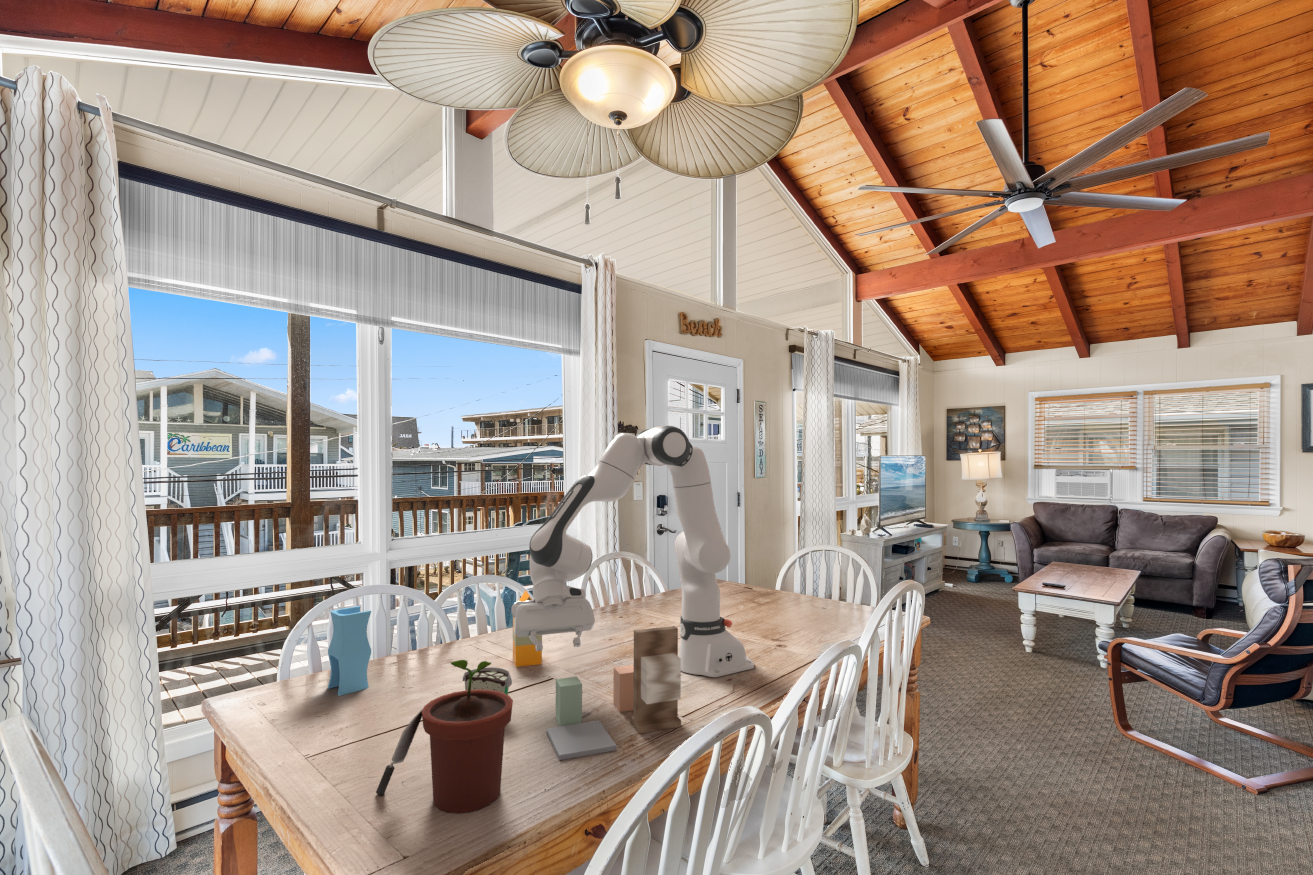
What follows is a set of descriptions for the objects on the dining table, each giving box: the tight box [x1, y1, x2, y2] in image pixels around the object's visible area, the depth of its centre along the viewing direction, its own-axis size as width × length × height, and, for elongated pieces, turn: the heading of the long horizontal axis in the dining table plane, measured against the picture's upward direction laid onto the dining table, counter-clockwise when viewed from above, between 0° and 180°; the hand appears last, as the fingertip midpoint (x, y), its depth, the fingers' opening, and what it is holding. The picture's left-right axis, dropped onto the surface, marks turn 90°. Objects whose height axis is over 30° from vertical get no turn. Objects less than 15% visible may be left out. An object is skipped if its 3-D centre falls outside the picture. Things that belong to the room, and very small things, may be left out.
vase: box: [327, 605, 372, 697], centre depth 163 cm, size 8×8×20 cm
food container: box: [462, 666, 513, 695], centre depth 147 cm, size 12×6×10 cm, turn 71°
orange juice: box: [512, 590, 543, 668], centre depth 185 cm, size 8×9×20 cm
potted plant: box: [375, 659, 514, 814], centre depth 114 cm, size 18×22×25 cm
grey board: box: [546, 719, 617, 761], centre depth 133 cm, size 12×13×1 cm
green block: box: [555, 676, 583, 727], centre depth 144 cm, size 5×5×9 cm
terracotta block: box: [612, 664, 634, 713], centre depth 152 cm, size 5×5×9 cm
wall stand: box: [629, 625, 682, 735], centre depth 141 cm, size 10×8×22 cm
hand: (558, 647), depth 154 cm, fingers open, 8 cm apart
